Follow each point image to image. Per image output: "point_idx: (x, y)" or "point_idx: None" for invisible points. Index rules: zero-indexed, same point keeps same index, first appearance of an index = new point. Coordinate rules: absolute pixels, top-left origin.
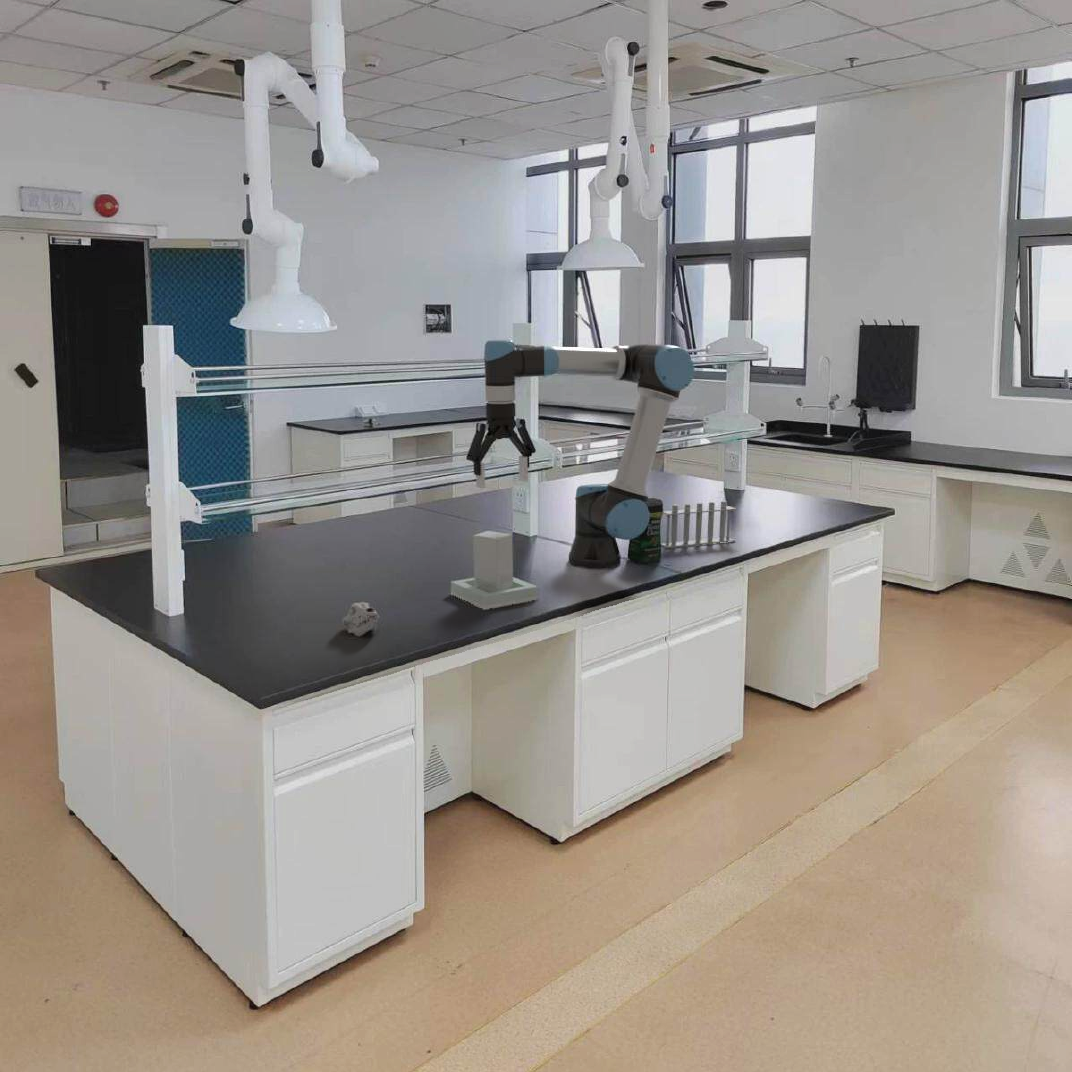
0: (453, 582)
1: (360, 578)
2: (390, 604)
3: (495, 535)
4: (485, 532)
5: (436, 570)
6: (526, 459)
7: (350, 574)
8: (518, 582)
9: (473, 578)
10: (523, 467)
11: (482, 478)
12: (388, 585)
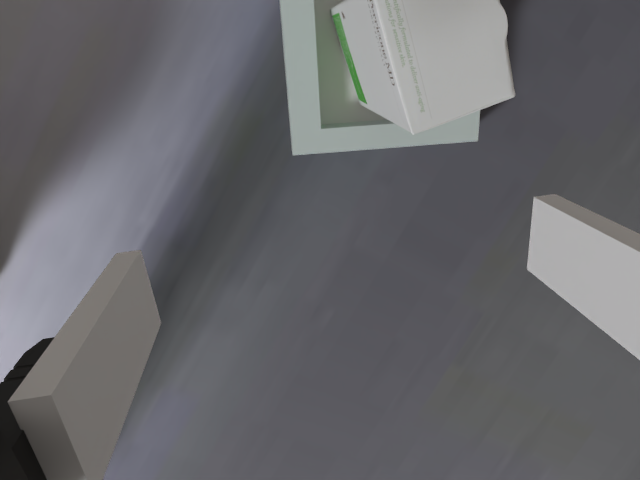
0: (476, 128)
1: (549, 358)
2: (632, 129)
3: (454, 8)
4: (447, 106)
5: (369, 350)
6: (40, 374)
7: (547, 393)
8: (306, 19)
9: (403, 139)
10: (110, 337)
11: (608, 219)
12: (535, 283)
